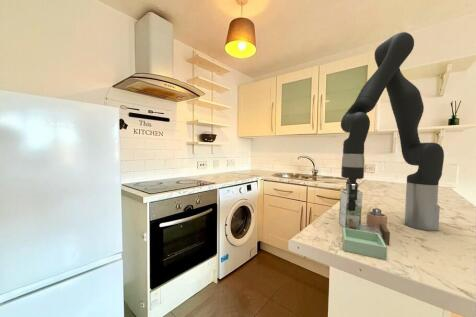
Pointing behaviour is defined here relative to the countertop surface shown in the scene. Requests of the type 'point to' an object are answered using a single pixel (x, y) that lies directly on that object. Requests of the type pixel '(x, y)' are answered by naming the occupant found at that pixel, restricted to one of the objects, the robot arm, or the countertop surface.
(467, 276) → the countertop surface
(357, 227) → the plate
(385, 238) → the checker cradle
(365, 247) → the trough
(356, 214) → the syrup box
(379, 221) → the cup
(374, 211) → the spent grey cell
